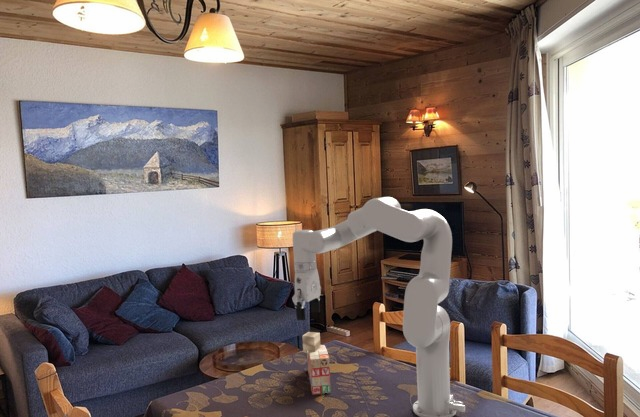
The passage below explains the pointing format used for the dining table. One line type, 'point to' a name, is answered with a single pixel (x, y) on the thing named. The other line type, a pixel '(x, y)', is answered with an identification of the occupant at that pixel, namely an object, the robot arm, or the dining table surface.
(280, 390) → the dining table surface
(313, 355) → the stack of blocks
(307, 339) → the tan metal block
